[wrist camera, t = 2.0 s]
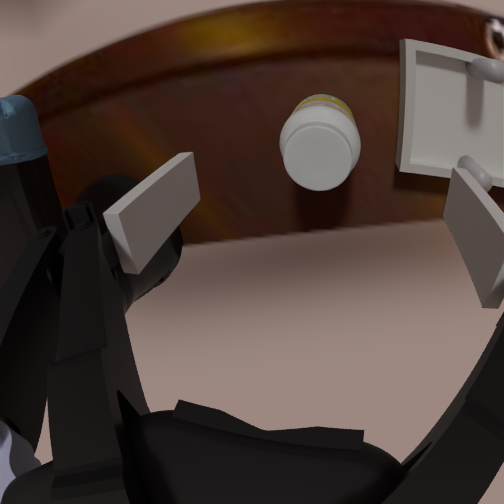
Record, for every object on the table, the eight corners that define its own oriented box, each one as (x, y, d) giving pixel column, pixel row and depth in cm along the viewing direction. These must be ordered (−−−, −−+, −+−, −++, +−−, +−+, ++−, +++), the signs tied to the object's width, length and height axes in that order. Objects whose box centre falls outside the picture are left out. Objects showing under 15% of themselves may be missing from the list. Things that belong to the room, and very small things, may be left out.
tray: (395, 162, 24) (407, 186, 20) (399, 40, 18) (415, 36, 14) (511, 181, 21) (536, 206, 17) (525, 73, 15) (557, 82, 11)
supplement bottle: (320, 81, 22) (314, 93, 15) (367, 125, 23) (384, 161, 16) (279, 125, 25) (253, 159, 18) (324, 165, 26) (319, 217, 19)
